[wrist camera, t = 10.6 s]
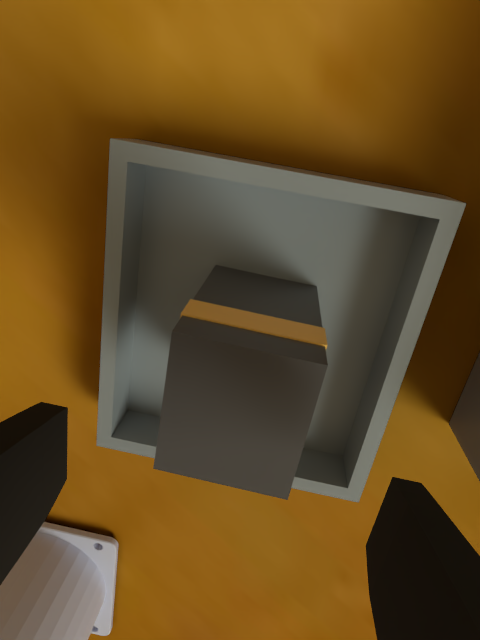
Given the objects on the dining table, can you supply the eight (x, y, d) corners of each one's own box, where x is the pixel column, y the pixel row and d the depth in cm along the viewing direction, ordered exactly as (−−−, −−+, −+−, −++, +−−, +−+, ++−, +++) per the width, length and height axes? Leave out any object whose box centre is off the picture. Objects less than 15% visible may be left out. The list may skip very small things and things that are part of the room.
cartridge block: (197, 365, 19) (151, 469, 13) (214, 263, 17) (170, 328, 11) (291, 386, 19) (289, 501, 13) (318, 285, 17) (330, 364, 11)
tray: (115, 412, 21) (94, 444, 19) (133, 138, 16) (106, 137, 14) (351, 463, 20) (358, 502, 18) (442, 194, 15) (466, 203, 13)
